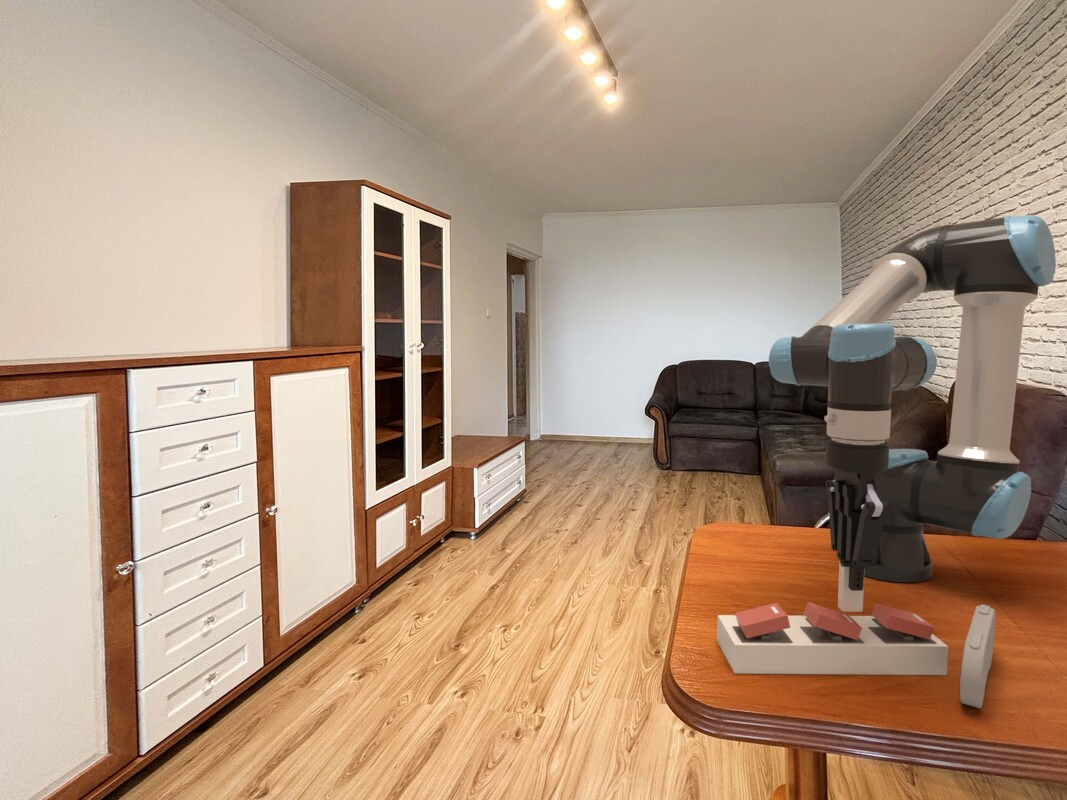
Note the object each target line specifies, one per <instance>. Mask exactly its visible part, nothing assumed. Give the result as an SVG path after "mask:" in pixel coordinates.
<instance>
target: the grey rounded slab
mask: <svg viewBox="0 0 1067 800" xmlns="http://www.w3.org/2000/svg"><path fill="white" fill-rule="evenodd" d="M995 632H996V610H995V609H994V608H992V607H991V606H990V605H986V604H980V605H976V607H975V610H974V612H973V616H972V620H971V623H970V626H969V629H968V632H967V635H966V638H965V642H964V645H963V652H962V660H961V668H960V671H959V672H960V673H959V679H960V680H959V681H960V685H959V697H960V698H959V701H960V703H962V704H964V705H967V706H970V707H974V708H976V709H981V708H982V707H983V703H984V698H985V693H986V692H985V690H986V684H987V680H988V675H989V672H990V669H991V666H992V661H993V654H994V653H993V652H994V646H995V645H994V644H995V643H994V642H995Z"/></svg>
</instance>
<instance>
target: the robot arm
mask: <svg viewBox="0 0 1067 800" xmlns="http://www.w3.org/2000/svg"><path fill="white" fill-rule="evenodd" d="M1056 263H1057V262H1056V248H1055V243H1054V239H1053V235H1052V233H1051V229H1050V227H1049V225H1048V223H1046V221H1045V220H1044V219H1043V218H1042V217H1040V216H1037V215H1031V214H1029V215H1018V216H1011V215H1007V216H1004V217H998V218H991V219H984V220H978V221H977V220H975V221H970V222H969V221H968V222H963V223H956V224H946V225H945V224H944V225H940V226H935V227H934V226H933V227H931V228H928V229H926V230H923V231H920V232H918V233H916V234H914V235H912V236H910V237H908V238H906V239H904V240H903V241H901V242H900V243H898V244H896V245H895V246H893V247H892V248H890V249H889V250H887V252H885V253H884V254H883V255H881V256H880V257H879V258H878V259H877V260H876V261H875V262H874V263H873V264H872V267H871V268H870V272H869V275H868V276H866V278H864V279H863V280H862V281H861V282H860V283H859V284H858V285H856V286H855V287H854V288H853V289H852V290H851V291H850V292H849V293H848V294H847V295H845V297H843V298H842V299H841V300H840V301H839V302H838V303H836V305H835V306H833V308H831V309H830V310H829V311H828V312H827V313H826V314H825V315H824V316H822V317H821V318H820V319H819V320H818V321H817V322H816V323H815V324H814V325H812V327H810V328H809V329H808V331H805V332H804V334H803V335H801V336H790V337H782V338H778V339H777V340H776V341H775V342H774V343H773V344H772V346H771V349H770V351H769V356H768V367H769V370H770V374H771V375H772V377H773V378H774V379H775V380H776V381H777V382H779V383H782V384H788V385H789V384H790V385H796V386H813V387H814V386H818V387H828V388H827V390H828V392H827V394H828V395H827V415H824V417H823V418H824V421H825V423H826V435H827V436H829V437H830V438H828V439H827V441H826V442H825V455H824V456H825V460H824V463H825V466H827V467H828V468H829V469H831V470H834V471H835V472H834V479H833V480H829V479H828V480H825V490H826V493H827V500H828V501H827V502H828V503H827V504H828V516H829V517H828V518H829V531H830V532H829V533H830V546H831V550H832V551H835V552H836V557H837V560H839V563H838V566H839V567H838V589H837V592H838V593H837V608H838V609H839V610H840V611H841V612H842V613H844V612H860V613H861V612H863V611H864V610H863V609H864V592H865V591H864V589H865V588H864V587H865V577H867V578H872V579H876V580H879V581H880V580H881V581H886V582H894V583H920V582H925V581H928V580H929V579H931V577H932V575H933V562H932V560H931V559H932V558H931V555H930V553H929V549H928V546H927V543H926V540H925V536H924V525H928V526H933V527H938V528H943V529H947V530H952V531H957V532H961V533H967V534H971V535H972V536H974V537H984V538H989V539H990V538H991V539H996V540H997V539H998V540H1001V539H1006V538H1009V537H1011V536H1012V535H1013V534H1014V533H1015V532H1016V531H1017V530H1018V528H1020V527H1019V526H1020V525H1021V524H1022V521H1023V519H1024V517H1025V516H1026V512H1027V509H1028V507H1029V503H1030V499H1031V496H1032V486H1031V485H1032V478H1031V477H1030V476H1029V474H1026V473H1025V472H1023V471H1020V462H1021V461H1020V459H1018V458H1017V457H1016V456H1015V455H1014V454H1013V452H1012V451H1011V449H1010V448H1011V440H1012V439H1011V437H1012V428H1013V420H1014V419H1013V418H1014V410H1015V402H1016V392H1017V385H1018V384H1017V382H1018V374H1019V367H1020V365H1019V363H1020V355H1021V354H1020V353H1021V347H1022V346H1021V345H1022V338H1023V337H1022V336H1023V329H1024V328H1023V327H1024V317H1025V309H1026V308H1027V307H1028V306H1029V305H1030V304H1031V303H1033V302H1035V301H1036V300H1037V299H1038V297H1039V296H1038V294H1039V288H1040V287H1045V286H1048V285H1050V284H1051V283H1052V282H1053V281H1054V277H1055V276H1054V275H1055V273H1056ZM943 291H947V292H948V291H953V300H954V301H955V302H956V303H957V304H958V305H959V306H960V307H961V309H962V313H961V325H960V332H959V333H960V334H959V344H958V353H957V363H956V372H955V383H954V392H953V402H952V410H951V421H950V431H949V440H948V444H947V445H946V446H945V447H943V448H941V449H940V450H938V452H937V459H936V460H932V459H931V460H929V455H928V452H927V451H926V450H923V449H922V450H921V449H918V448H917V449H916V448H890V445H889V444H888V442H886V441H887V440H889V439H890V438H891V425H892V424H891V423H892V422H891V421H892V396H893V395H892V394H893V392H897V391H904V392H905V391H910V390H911V389H912V390H913V389H914V388H918V387H920V386H922V385H924V384H926V383H927V382H928V381H930V380H931V378H932V377H933V376H934V374H935V372H936V369H937V364H938V363H937V362H938V361H937V355H936V352H935V351H934V348H933V347H932V346H931V345H930V344H929V343H928V342H927V341H925V340H923V339H920V338H918V337H913V336H909V335H906V336H896V337H895V329H894V326H893V325H892V324H890V323H885V322H886V321H887V320H888V319H889V318H890V317H891V316H893V314H894V313H895V312H896V311H897V310H898V309H899V308H900V307H902V305H903V304H905V303H908V302H911V301H913V300H915V299H917V298H919V296H921V294H924V293H932V292H943Z"/></svg>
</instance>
